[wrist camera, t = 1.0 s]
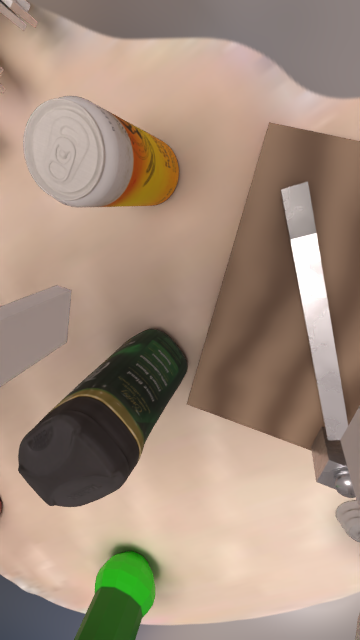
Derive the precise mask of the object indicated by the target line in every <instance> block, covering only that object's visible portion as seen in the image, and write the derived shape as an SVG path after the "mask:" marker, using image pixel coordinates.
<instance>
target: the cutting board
mask: <svg viewBox="0 0 360 640" xmlns="http://www.w3.org/2000/svg"><path fill="white" fill-rule="evenodd" d="M307 181H308V185H309V191H310V197H311V203H312V209H313V215H314V221H315V227H316V234H317V240H318V246H319V252H320V258H321V264H322V270H323V276H324V282H325V288H326V294H327V300H328V306H329V312H330V318H331V325H332V331H333V337H334V343H335V349H336V355H337V361H338V367H339V373H340V379H341V385H342V391H343V397H344V403H345V409H346V415H347V422H348V426H349V424H350V422H351V420H352V418H353V417H354V415H355V413H356V411H357V410H358V408H359V406H360V141H356V140H351V139H346V138H341V137H336V136H332V135H327V134H322V133H317V132H312V131H308V130H303V129H298V128H293V127H288V126H283V125H279V124H274V123H269V125H268V129H267V132H266V136H265V139H264V142H263V146H262V149H261V153H260V156H259V160H258V163H257V166H256V170H255V173H254V177H253V180H252V183H251V187H250V190H249V194H248V197H247V200H246V204H245V207H244V211H243V214H242V217H241V221H240V224H239V228H238V231H237V235H236V238H235V241H234V245H233V248H232V252H231V255H230V258H229V262H228V265H227V269H226V272H225V275H224V279H223V282H222V286H221V289H220V293H219V296H218V299H217V303H216V306H215V310H214V313H213V316H212V320H211V323H210V327H209V330H208V333H207V337H206V340H205V344H204V347H203V351H202V354H201V357H200V361H199V364H198V368H197V371H196V374H195V378H194V381H193V385H192V388H191V391H190V395H189V398H188V402H187V404H188V405H191V406H193V407H196V408H199V409H201V410H204V411H207V412H209V413H212V414H215V415H217V416H220V417H223V418H225V419H228V420H231V421H234V422H236V423H239V424H242V425H244V426H247V427H250V428H252V429H255V430H258V431H260V432H263V433H266V434H268V435H271V436H274V437H276V438H279V439H282V440H285V441H287V442H290V443H293V444H295V445H298V446H301V447H303V448H306V449H309V450H311V451H312V449H311V446H312V444H313V442H314V440H315V438H316V436H317V434H318V433H319V431H320V429H321V427H325V425H324V420H323V415H322V410H321V404H320V399H319V394H318V388H317V383H316V378H315V372H314V367H313V362H312V356H311V351H310V346H309V340H308V335H307V330H306V324H305V319H304V314H303V308H302V303H301V298H300V293H299V287H298V282H297V277H296V271H295V266H294V261H293V255H292V250H291V245H290V239H289V234H288V229H287V223H286V218H285V213H284V207H283V202H282V197H281V190H282V189H285V188H288V187H291V186H294V185H298V184H301V183H304V182H307Z"/></svg>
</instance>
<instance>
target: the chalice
mask: <svg viewBox="0 0 360 640" xmlns="http://www.w3.org/2000/svg"><path fill="white" fill-rule="evenodd" d="M336 518H337V520H338V521H339V523H340V524H341V525H342V527H343V528H344V530H345V531H346V533H347V534H348V535H349V536H350V537H351V538H352V539H354V540H355V541H357V542H360V511H359V507H358V503H357V501H348V502H345V503H342V504H341V505H340V506H339V507H338V508H337V510H336ZM355 640H360V613H359V617H358V622H357V630H356V639H355Z"/></svg>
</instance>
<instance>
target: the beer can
mask: <svg viewBox="0 0 360 640" xmlns="http://www.w3.org/2000/svg"><path fill="white" fill-rule="evenodd" d="M23 147H24V155H25V160H26V164H27V167H28V169H29V172H30V174H31V176H32V177H33V179H34V180H35V182H36V183H37V184H38V186H39V187H40V188H41V189H42V190H43V191H44V192H46V193H47V194H49V195H50V196H52V197H53V198H55V199H56V200H57V201H59V202H61V203H63V204H65V205H68V206H71V207H115V206H152V205H158V204H160V203H162V202H164V201H165V200H167V199H168V198H169V197H170V196H171V195H172V193H173V192H174V190H175V188H176V185H177V182H178V177H179V167H178V162H177V159H176V156H175V154H174V152H173V151H172V149H171V148H170V147H169V146H168V145H167V144H166V143H164V142H163V141H161V140H159V139H157V138H156V137H154V136H152V135H150V134H148V133H147V132H145V131H143V130H141V129H139V128H137V127H136V126H134V125H132V124H130V123H128V122H127V121H125V120H123V119H121V118H119V117H117V116H116V115H114V114H112V113H110V112H108V111H107V110H105V109H103V108H101V107H99V106H97V105H96V104H94V103H92V102H90V101H88V100H86V99H84V98H81V97H77V96H64V97H60V98H58V99H51V100H48V101H46V102H44V103H42V104H41V105H39V106H38V107H37V108H36V109H35V110H34V112H33V113H32V114H31V116H30V118H29V120H28V122H27V125H26V128H25V133H24V141H23Z"/></svg>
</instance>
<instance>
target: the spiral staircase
mask: <svg viewBox="0 0 360 640" xmlns="http://www.w3.org/2000/svg"><path fill="white" fill-rule="evenodd" d="M29 8H30V3H29V2H28V1H27V0H0V12H1V13H2V14H3V15H4V16H6V17H7V18H8V19H9V20H11V21H12V22H13V23H14V24H16V25H17V26H18V27H19V28H21V29H22V30H23V31H24V29H25V27H26V24H25V23H24V22H23V21H22V20H21V19H20V18H19V17H18V16H17V15H16V14H15V13H14V12H16V13H17V14H18V15H19V16H21V17H22V18H23V19H24V20H26V21H27V22H28V23H30V24H31V25H32V26H33V27H35V28H36V26H37V23H38V22H37V21H36V20H35V19H34V18H33V17H32V16H31V15H30V14H29V13H28V10H29ZM11 9H12V10H13V11H14V12H13V11H12V10H11ZM3 71H4V69H3V68H2V67H1V66H0V75H1V74H2V73H3ZM5 89H6V88H5V87H3V86H2V85H1V84H0V92H1V93H4V91H5Z"/></svg>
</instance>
